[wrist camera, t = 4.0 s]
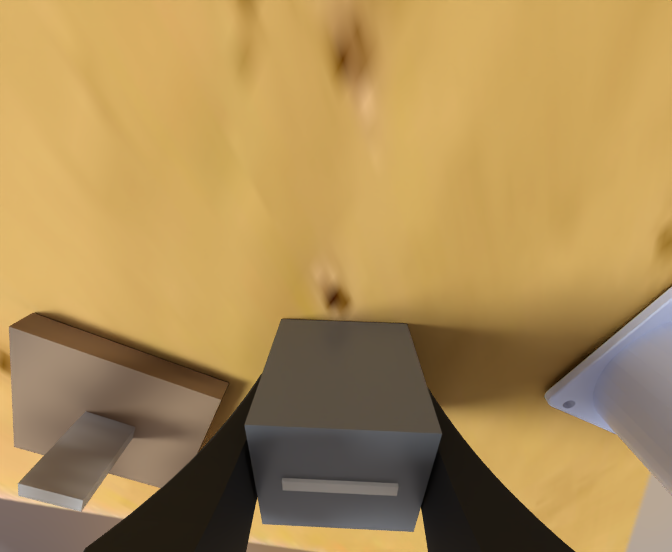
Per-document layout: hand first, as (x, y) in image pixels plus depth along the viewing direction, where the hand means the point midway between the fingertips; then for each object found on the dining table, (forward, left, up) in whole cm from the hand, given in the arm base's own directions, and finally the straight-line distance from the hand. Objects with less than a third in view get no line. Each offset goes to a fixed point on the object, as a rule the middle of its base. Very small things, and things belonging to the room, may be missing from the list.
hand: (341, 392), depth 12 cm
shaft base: (+9, +8, -1) cm, 12 cm away
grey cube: (0, 0, -1) cm, 1 cm away
